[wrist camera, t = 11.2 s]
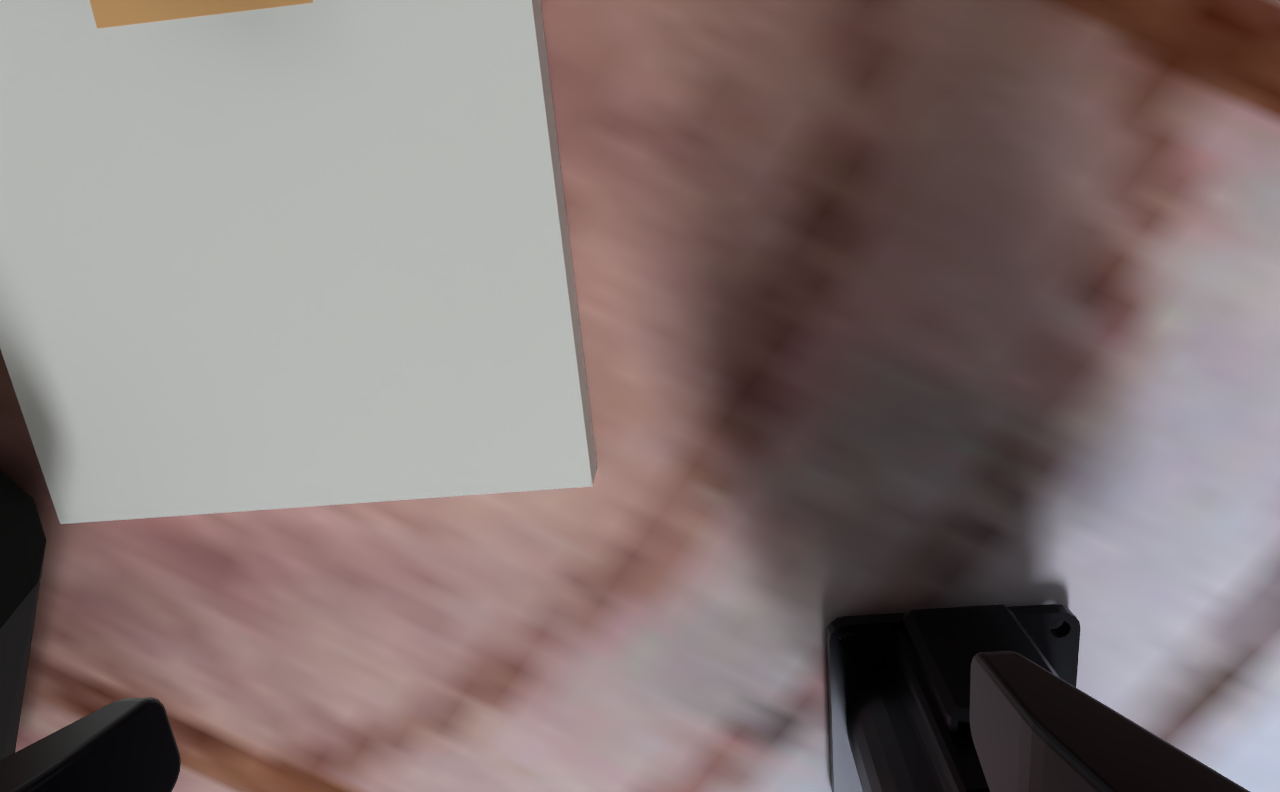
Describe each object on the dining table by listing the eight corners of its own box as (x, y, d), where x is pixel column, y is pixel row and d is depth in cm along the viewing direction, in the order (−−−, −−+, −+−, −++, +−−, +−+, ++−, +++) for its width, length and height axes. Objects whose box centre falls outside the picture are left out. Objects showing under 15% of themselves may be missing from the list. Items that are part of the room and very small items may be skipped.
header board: (597, 467, 21) (580, 533, 17) (92, 504, 22) (-21, 573, 18) (460, -656, 14) (389, -917, 11) (-244, -529, 15) (-517, -729, 12)
